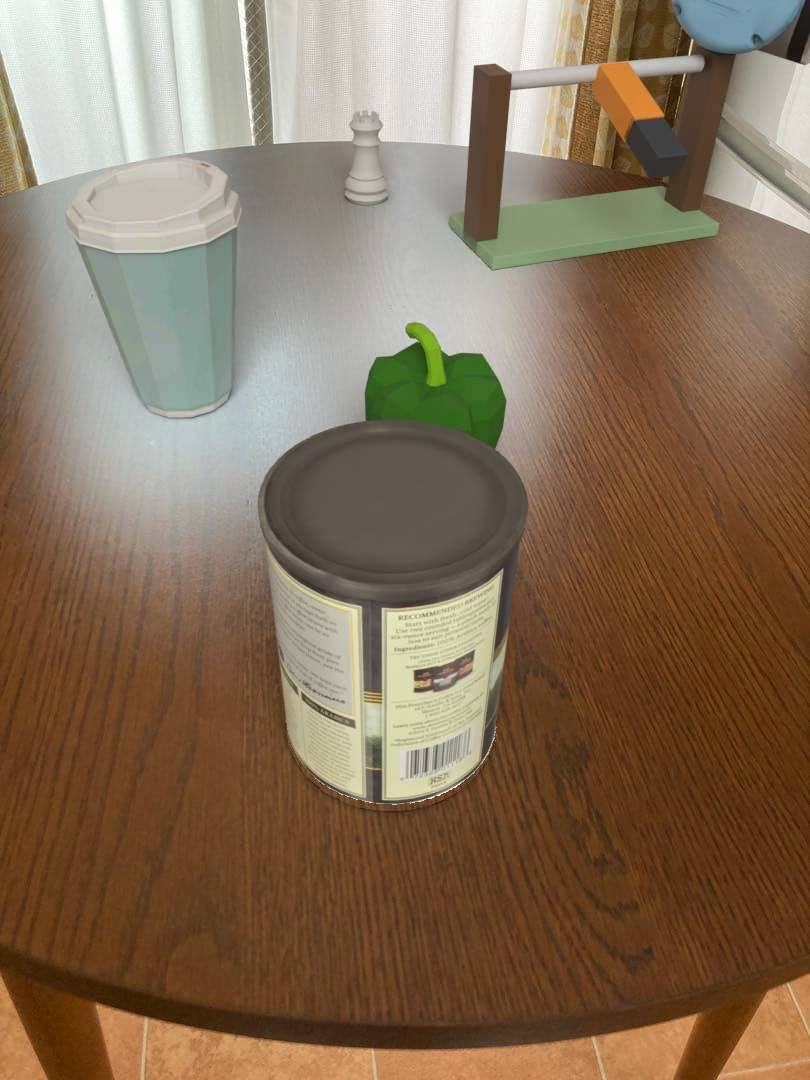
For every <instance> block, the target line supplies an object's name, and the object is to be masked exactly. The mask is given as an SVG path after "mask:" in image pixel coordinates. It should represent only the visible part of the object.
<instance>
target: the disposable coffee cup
mask: <svg viewBox="0 0 810 1080" xmlns="http://www.w3.org/2000/svg"><path fill="white" fill-rule="evenodd" d="M242 212H243V208H242V207H241V202H240V197H239V194H237V193H236V192H235V191H234V190H232V189H231V187H230V179H229V175H228V174H227V173H225V172H224V171H223V170H221V168H219V167H218V166H216V165H215V164H212V163H210V162H207V161H204V160H198V159H194V158H190V157H189V158H188V157H183V156H178V157H166V158H156V159H155V158H154V159H145V160H140V161H138V162H133V163H131V164H127V165H123V166H119V167H116V168H113V169H109V170H107V171H104V172H103V173H102V174H100V175H97V176H96V177H93V179H91V180H89V181H87V182H85V183H83V184H82V185H81V186H80V187H79V189H78V191H77V192H76V194H75V195H74V198H73V199H72V201H71V203H70V205H69V207H68V208H67V209H66V211H65V213H64V214H65V220H66V227H65V228H66V230H67V231H68V232H69V233H70V234H71V236H72V237H73V239H74V242H75V244H76V246H77V249H78V251H79V254H80V256H81V259H82V261H83V263H84V266H85V269H86V270H87V274H88V276H89V279H90V282H91V284H92V287H93V289H94V291H95V294H96V297H97V299H98V301H99V303H100V306H101V310H102V312H103V314H104V317H105V318H106V322H107V324H108V326H109V329H110V332H111V334H112V336H113V339H114V342H115V344H116V346H117V349H118V351H119V354H120V356H121V359H122V362H123V364H124V367H125V369H126V372H127V375H128V378H129V379H130V382H131V385H132V387H133V389H134V392H135V393H136V395H137V396H138V398H140V400H141V402H142V403H143V404H144V406H146V408H147V409H148V411H149V412H151V413H153V414H157V415H159V416H162V417H165V418H168V419H169V418H171V419H172V418H194V417H197V416H201V415H204V414H207V413H211V412H214V411H216V410H217V409H218V408H219V407H221V406H222V405H223V404H224V403H226V402H227V401H228V400H229V397H230V392H231V391H232V387H233V383H234V378H235V346H236V345H235V343H236V341H235V340H236V304H237V303H236V301H237V300H236V299H237V261H238V260H237V259H238V225H239V221H240V218H241V215H242Z"/></svg>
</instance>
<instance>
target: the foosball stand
mask: <svg viewBox="0 0 810 1080" xmlns="http://www.w3.org/2000/svg"><path fill="white" fill-rule="evenodd" d="M693 55H702V56H703V57H704V61H705V63H704V68H703V70H702V71H701V72H698V73H689V79H688V83H687V89H686V93H685V98H684V103H683V108H682V113H681V118H680V122H679V127H678V131H677V135H676V136H677V138H678V139H679V141H680V142H681V143H682V145H683V146H684V148H685V149H686V151H687V152H688V154H689V155H688V157H687V159H686V161H685V163H684V166H683V168H682V170H681V172H680V174H679V175H674V176H668V180H667V185H666V187H665V186H663V185H658V186H650V187H643V188H635V189H634V188H633V189H626V190H620V191H613V192H612V191H611V192H604V193H597V194H590V195H583V196H576V197H569V198H560V199H553V200H546V201H544V200H543V201H537V202H531V203H523V204H515V205H507V206H501V204H502V203H501V202H502V191H503V181H504V180H503V179H504V170H505V169H504V168H505V159H506V147H507V136H508V135H507V134H508V124H509V123H508V122H509V111H510V102H511V101H510V100H511V91H512V90H511V80H512V74H511V73H510V71H508V70H506V69H505V68H503V67H502V66H500V65H499V64H497V63H486V64H475V65H473V73H472V88H471V89H472V90H471V102H470V103H471V105H470V121H469V134H468V135H469V137H468V151H467V152H468V153H467V168H466V181H465V182H466V183H465V199H464V211H463V212H456V213H449V216H448V227H449V226H450V227H451V228H452V229H453V230H454V231H455V232H456V233H455V232H454V231H453V230H452V229H451V228H450V227H449V228H450V229H451V230H452V231H453V232H454V233H455V234H456V236H458V237H459V238H460V239H461V241H463V242H464V243H465V244H466V245H467V246H468V247H469V249H471V251H473V253H475V254H476V255H477V256H478V257H479V258H480V259H481V260H482V262H484V263H485V265H487V267H488V268H490V270H492V271H494V270H502V269H507V268H508V269H509V268H514V267H521V266H526V265H527V266H528V265H534V264H540V263H547V262H554V261H560V260H565V259H566V260H567V259H573V258H574V259H575V258H579V257H586V256H593V255H599V254H606V253H611V252H613V253H614V252H618V251H624V250H631V249H638V248H644V247H651V246H658V245H664V244H669V243H670V244H671V243H676V242H682V241H683V242H684V241H690V240H697V239H703V238H709V237H715V236H718V234H719V233H718V232H719V229H720V222H718V221H717V220H715V219H713V218H712V217H711V216H709V215H708V214H706V213H704V212H703V211H702V210H700V209H701V205H702V200H703V197H704V192H705V188H706V184H707V179H708V174H709V171H710V166H711V162H712V158H713V153H714V149H715V145H716V142H717V141H716V140H717V137H718V132H719V130H720V129H719V128H720V125H721V124H720V123H721V119H722V116H723V112H724V108H725V102H726V98H727V94H728V90H729V86H730V82H731V77H732V74H733V69H734V64H735V60H736V56H737V54H726V53H718V52H714V51H711V50H709V49H706V48H704V47H702V46H701V45H696V46H695V50H694V54H693Z"/></svg>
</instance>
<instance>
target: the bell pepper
mask: <svg viewBox="0 0 810 1080" xmlns="http://www.w3.org/2000/svg"><path fill="white" fill-rule="evenodd" d="M404 331H405V333H406V335H407V336H408V338H409V339H415V340H416V342H413V343H412V344H410V345H409V346H407V347H405V348H403V349H402V350H400V351H398V352H396V353H395V354H393V355H386V356H385V355H383V356H376V357H375V359H374V361H373V363H372V365H371V367H370V369H369V371H368V376H367V379H366V385H365V389H364V415H365V416H364V417H365V421H370V420H382V419H396V420H414V421H422V422H428V423H433V424H438V425H443V426H446V427H449V428H453V429H455V430H458V431H461V432H464V433H466V434H469V435H471V436H473V437H475V438H477V439H479V440H481V441H483V442H484V443H486V444H488V445H489V446H491V447H492V448H494V449H495V450H496V448H497V446H498V443H499V440H500V438H501V435H502V432H503V429H504V425H505V424H504V423H505V415H506V408H507V398H506V395H505V392H504V390H503V387H502V384H501V381H500V380H499V378H498V376H497V374H496V373H495V372H494V370H493V368H492V366H491V365H490V364H489V362H488V360H487V359H486V357H485V356H484V354H483V353H479V352H477V353H476V352H459V353H454V354H451V355H448V354H447V353H446V352H444V351H443V350H442V347H441V345H440V343H439V341H438V339H437V337H436V335H435V333H434V332H433V331H432V330H431V329H430V328H428V327H427V326H426V324H423V323H421V322H417V321H413V322H408V323H407V324H406V325H405V327H404Z"/></svg>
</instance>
